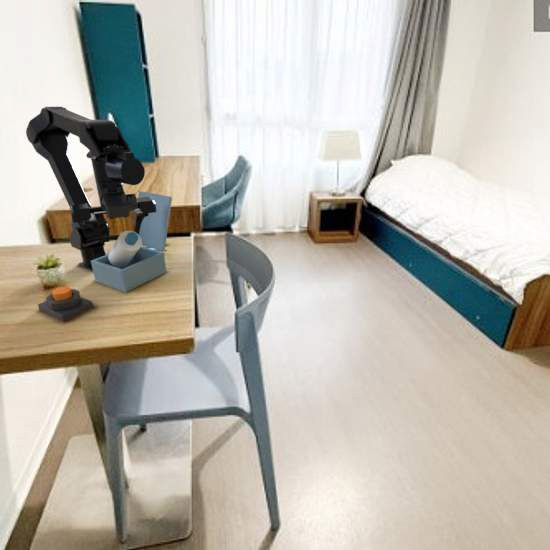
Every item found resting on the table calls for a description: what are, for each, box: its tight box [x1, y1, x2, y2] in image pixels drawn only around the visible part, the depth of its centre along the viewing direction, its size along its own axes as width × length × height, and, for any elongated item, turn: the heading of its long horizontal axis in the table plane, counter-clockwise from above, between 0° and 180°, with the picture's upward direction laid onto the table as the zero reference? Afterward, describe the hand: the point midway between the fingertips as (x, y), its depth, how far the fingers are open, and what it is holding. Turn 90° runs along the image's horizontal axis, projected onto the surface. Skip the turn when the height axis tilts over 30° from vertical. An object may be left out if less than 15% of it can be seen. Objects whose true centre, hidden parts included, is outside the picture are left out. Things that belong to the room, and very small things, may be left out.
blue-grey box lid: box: [137, 190, 173, 252], centre depth 99 cm, size 14×12×1 cm
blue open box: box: [91, 245, 167, 293], centre depth 96 cm, size 14×12×6 cm
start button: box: [51, 286, 72, 301], centre depth 80 cm, size 4×4×2 cm
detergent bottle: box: [108, 230, 143, 268], centre depth 92 cm, size 5×5×13 cm
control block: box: [37, 288, 94, 323], centre depth 81 cm, size 9×7×4 cm
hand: (120, 242), depth 92 cm, fingers open, 7 cm apart
